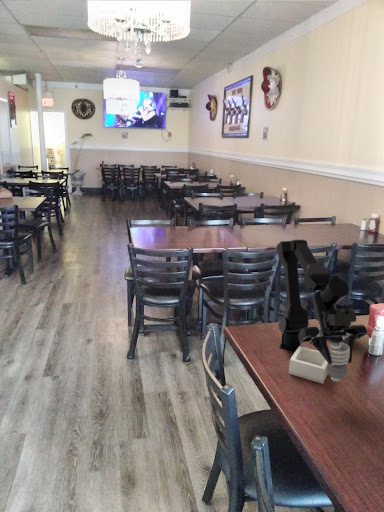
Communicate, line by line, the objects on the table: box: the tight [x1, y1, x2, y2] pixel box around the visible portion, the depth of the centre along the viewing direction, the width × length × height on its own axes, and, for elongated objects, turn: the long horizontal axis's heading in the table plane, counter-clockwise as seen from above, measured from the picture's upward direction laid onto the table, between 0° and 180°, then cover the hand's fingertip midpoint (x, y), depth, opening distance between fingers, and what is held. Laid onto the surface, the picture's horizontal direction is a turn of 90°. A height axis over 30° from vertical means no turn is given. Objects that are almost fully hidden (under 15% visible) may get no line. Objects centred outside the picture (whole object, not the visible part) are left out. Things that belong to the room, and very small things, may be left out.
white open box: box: [288, 345, 328, 384], centre depth 130 cm, size 11×11×5 cm
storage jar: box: [327, 296, 354, 343], centre depth 154 cm, size 10×10×15 cm
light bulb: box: [327, 342, 350, 383], centre depth 113 cm, size 6×6×12 cm
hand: (340, 363), depth 111 cm, fingers closed on light bulb, 5 cm apart
